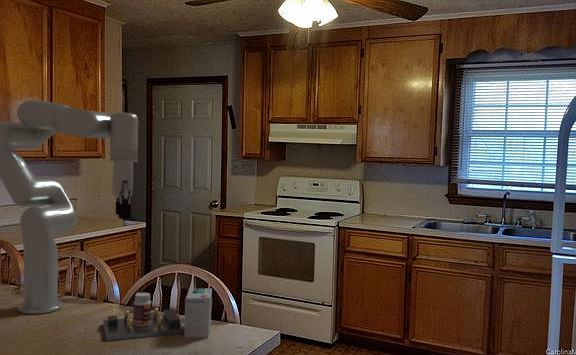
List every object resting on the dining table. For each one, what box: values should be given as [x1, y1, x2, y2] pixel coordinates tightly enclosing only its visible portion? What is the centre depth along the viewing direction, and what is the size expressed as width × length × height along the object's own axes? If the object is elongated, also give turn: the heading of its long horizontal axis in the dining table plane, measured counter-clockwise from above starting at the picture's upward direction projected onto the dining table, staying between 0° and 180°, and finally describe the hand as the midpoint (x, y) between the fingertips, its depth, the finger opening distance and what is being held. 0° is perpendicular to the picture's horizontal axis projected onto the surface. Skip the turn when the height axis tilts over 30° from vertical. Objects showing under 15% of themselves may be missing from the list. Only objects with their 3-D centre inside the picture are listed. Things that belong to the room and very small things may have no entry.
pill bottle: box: [132, 292, 152, 327], centre depth 147 cm, size 5×5×8 cm
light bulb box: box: [183, 287, 213, 339], centre depth 146 cm, size 11×7×11 cm, turn 5°
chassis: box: [102, 307, 185, 342], centre depth 147 cm, size 14×20×4 cm
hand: (122, 216), depth 151 cm, fingers open, 9 cm apart
